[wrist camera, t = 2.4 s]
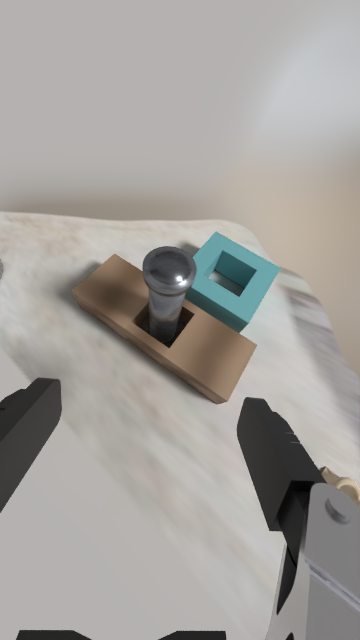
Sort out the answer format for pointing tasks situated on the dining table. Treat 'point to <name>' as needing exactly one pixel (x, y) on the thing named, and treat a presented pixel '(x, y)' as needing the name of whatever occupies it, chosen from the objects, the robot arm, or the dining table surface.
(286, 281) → the dining table surface
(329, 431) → the dining table surface
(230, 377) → the beam
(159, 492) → the dining table surface
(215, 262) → the holder
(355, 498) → the decorative ornament
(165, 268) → the axle
